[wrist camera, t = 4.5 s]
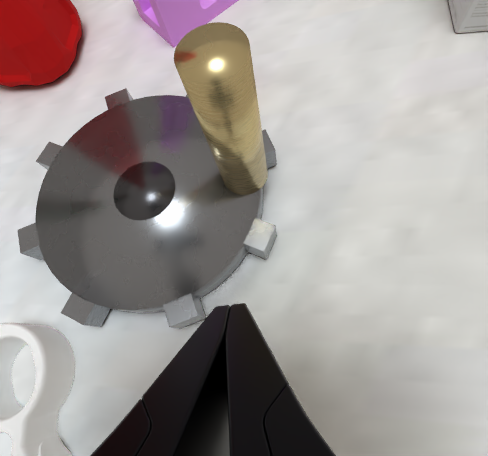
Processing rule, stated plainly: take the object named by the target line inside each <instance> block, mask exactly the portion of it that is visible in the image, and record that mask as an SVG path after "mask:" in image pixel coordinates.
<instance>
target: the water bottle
mask: <svg viewBox="0 0 488 456" xmlns="http://www.w3.org/2000/svg"><path fill="white" fill-rule="evenodd" d="M81 36H82V30H81V20H80V17H79V15H78V12H77V9H76V8H75V7H74V5H73V4H72V2H71V1H70V0H0V85H5V86H9V87H14V86H18V85H23V84H25V85H36V86H37V85H41V84H46V83H50V82H53V81H54V80H56V79H57V78H59V77H60V76H62V75H63V74H65V73H66V72H67V71H68V70H69V68H70V66H71V64H72V63H73V61H74V59H75V57H76V50H77V43H78V41H79V40H80V38H81Z"/></svg>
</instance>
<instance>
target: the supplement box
mask: <svg viewBox="0 0 488 456" xmlns="http://www.w3.org/2000/svg"><path fill="white" fill-rule="evenodd" d="M448 1H449V6H450V11H451V16H452V20H453V25H454V29H455V32H456V33H465V32H477V31H488V0H448Z"/></svg>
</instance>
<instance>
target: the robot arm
mask: <svg viewBox="0 0 488 456" xmlns="http://www.w3.org/2000/svg"><path fill="white" fill-rule="evenodd" d="M90 456H336V455H335V454H334V453H333V451H332V450H331V449H330V447H329V446H328V444H327V443H326V442H325V440H324V439H323V438H322V436H321V435H320V434H319V432H318V431H317V429H316V428H315V426H314V425H313V423H312V422H311V421H310V419H309V418H308V416H307V415H306V413H305V411H304V410H303V408H302V406H301V404H300V403H299V401H298V399H297V398H296V396H295V394H294V392H293V390H292V388H291V387H290V386H289V383H288V381H287V380H286V378H285V376H284V374H283V372H282V370H281V368H280V367H279V365H278V363H277V361H276V359H275V357H274V355H273V354H272V352H271V350H270V348H269V346H268V344H267V342H266V341H265V339H264V337H263V335H262V333H261V331H260V329H259V328H258V326H257V324H256V322H255V320H254V318H253V316H252V315H251V313H250V311H249V309H248V307H247V305H246V304H244V303H242V304H234V305H232V306H231V307H230V306H229V305H226V306H218V307H215V308H214V309H213V311H212V312H211V313H210V314H209V315H208V317H207V318H206V319H205V320H204V322H203V323H202V324H201V325H200V327H199V328H198V329H197V330H196V331H195V333H194V334H193V335H192V336H191V338H190V339H189V340H188V341H187V342H186V344H185V345H184V346H183V347H182V349H181V350H180V351H179V352H178V353H177V355H176V356H175V357H174V358H173V360H172V361H171V362H170V363H169V364H168V366H167V367H166V368H165V369H164V371H163V372H162V373H161V374H160V375H159V377H158V378H157V379H156V380H155V382H154V383H153V384H152V385H151V387H150V388H149V389H148V390H147V391H146V393H145V394H144V395H143V396H142V400H139V401H138V402H137V403H136V405H135V406H134V407H133V408H132V410H131V411H130V412H129V413H128V414H127V416H126V417H125V418H124V419H123V420H122V421H121V423H120V424H119V425H118V426H117V427H116V428H115V430H114V431H113V432H112V433H111V434H110V435H109V436H108V437H107V438H106V439H105V440H104V442H103V443H102V444H101V445H100V446H99V447H98V448H97V449H96V450H95V451H94V452H93V453H92V454H91V455H90Z"/></svg>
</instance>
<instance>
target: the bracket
mask: <svg viewBox="0 0 488 456" xmlns="http://www.w3.org/2000/svg"><path fill="white" fill-rule="evenodd" d="M133 1H134V3H135V6H136V8H137V10H138V12H139V14H140V17H141V18H142V19H143V20H144V21H145V22H146V23H147V24H148V25H150V26H151V27H152V28H153V29H154V30H155V31H156V32H157V33H158V34H159V35H160V36H162V37H163V38H164V39H165V40H166V41H167V42H168V43H169V44H170V45H171V46H173V47H175V46H177V45H178V43H179V42H180V40H181V39H182V38H183V37H184V36H185V35H186V34H187V33H189V32H190V31H191V30H193V29H195V28H197V27H199V26H202V25H205V24H207V23H208V22H209V21H211V20H212V19H214V18H215V17H216V16H218V15H219V14H220V13H222V12H223V11H224V10H226V9H227V8H229V7H230V6H231V5H233V4H234V3H235V2H237V1H238V0H133Z"/></svg>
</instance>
